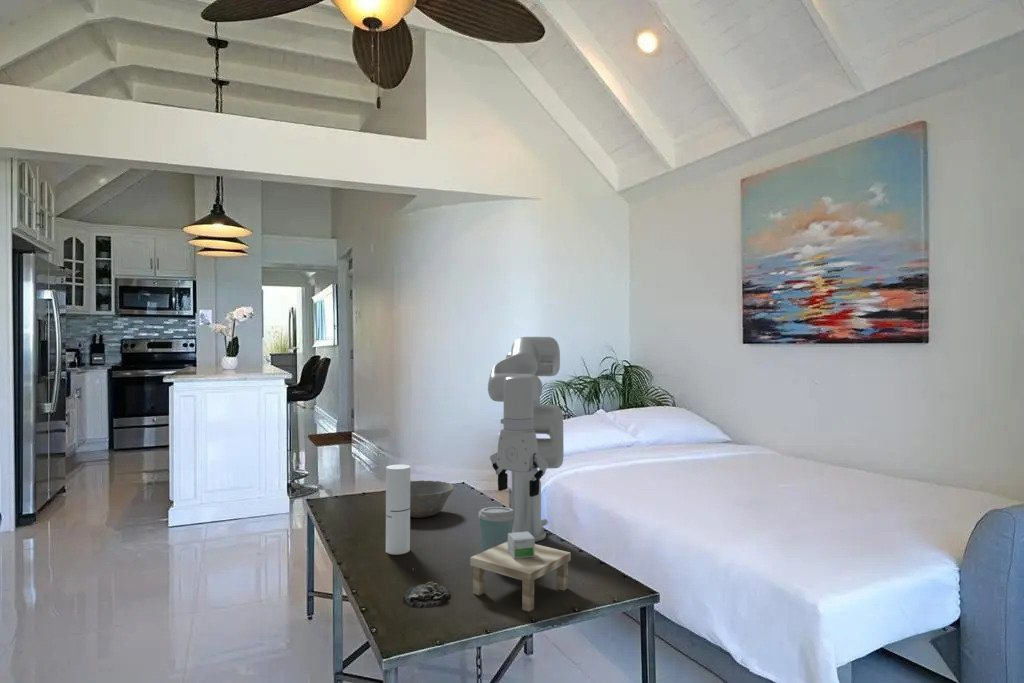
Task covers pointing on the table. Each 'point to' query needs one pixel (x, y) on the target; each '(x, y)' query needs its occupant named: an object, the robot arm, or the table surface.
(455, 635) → the table surface
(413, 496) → the ceramic bowl
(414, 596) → the dark grey rock
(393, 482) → the cylindrical container
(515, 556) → the small box
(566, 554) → the footstool
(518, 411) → the robot arm
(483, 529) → the disposable coffee cup
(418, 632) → the table surface
